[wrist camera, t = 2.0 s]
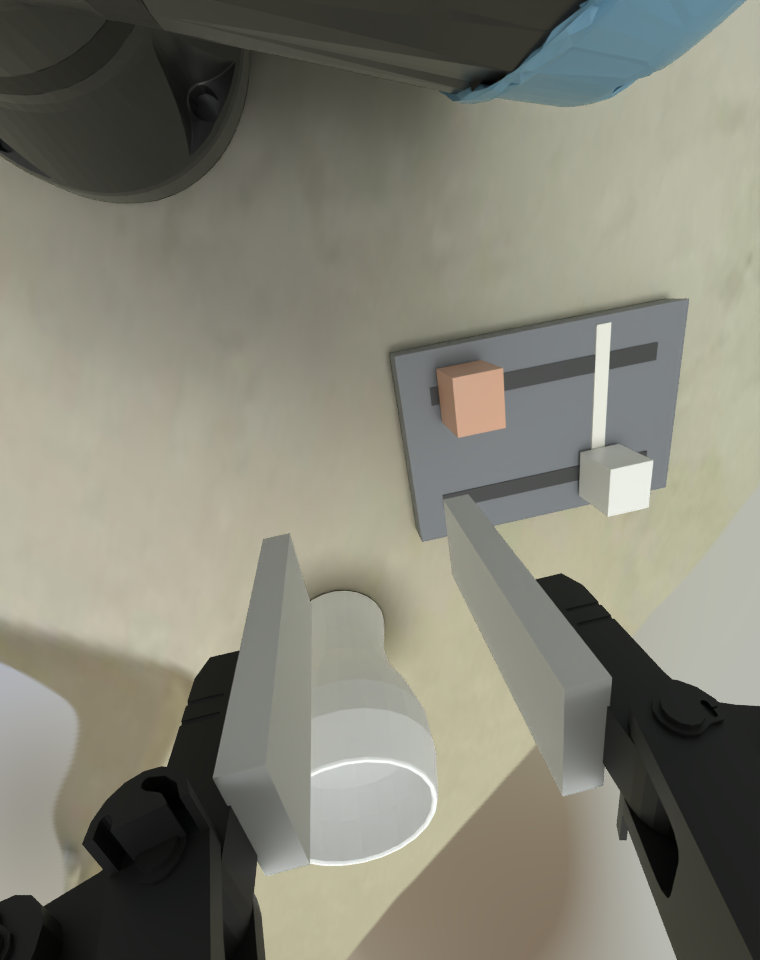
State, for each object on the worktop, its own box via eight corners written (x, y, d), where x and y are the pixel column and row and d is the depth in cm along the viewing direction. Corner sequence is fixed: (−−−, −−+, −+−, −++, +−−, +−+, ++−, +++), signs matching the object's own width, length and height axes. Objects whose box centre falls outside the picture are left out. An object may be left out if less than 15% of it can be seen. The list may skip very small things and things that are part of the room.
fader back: (580, 452, 31) (610, 469, 28) (618, 443, 31) (653, 460, 28) (579, 495, 33) (607, 516, 29) (615, 487, 33) (648, 507, 30)
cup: (352, 553, 34) (377, 721, 21) (421, 628, 39) (480, 810, 25) (251, 622, 36) (212, 824, 22) (329, 688, 40) (336, 892, 26)
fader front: (436, 368, 27) (452, 378, 24) (481, 359, 27) (503, 368, 24) (442, 422, 29) (458, 437, 25) (484, 413, 29) (505, 427, 26)
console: (389, 353, 29) (394, 356, 27) (666, 298, 30) (690, 298, 28) (416, 528, 34) (422, 542, 32) (647, 477, 36) (666, 487, 34)
